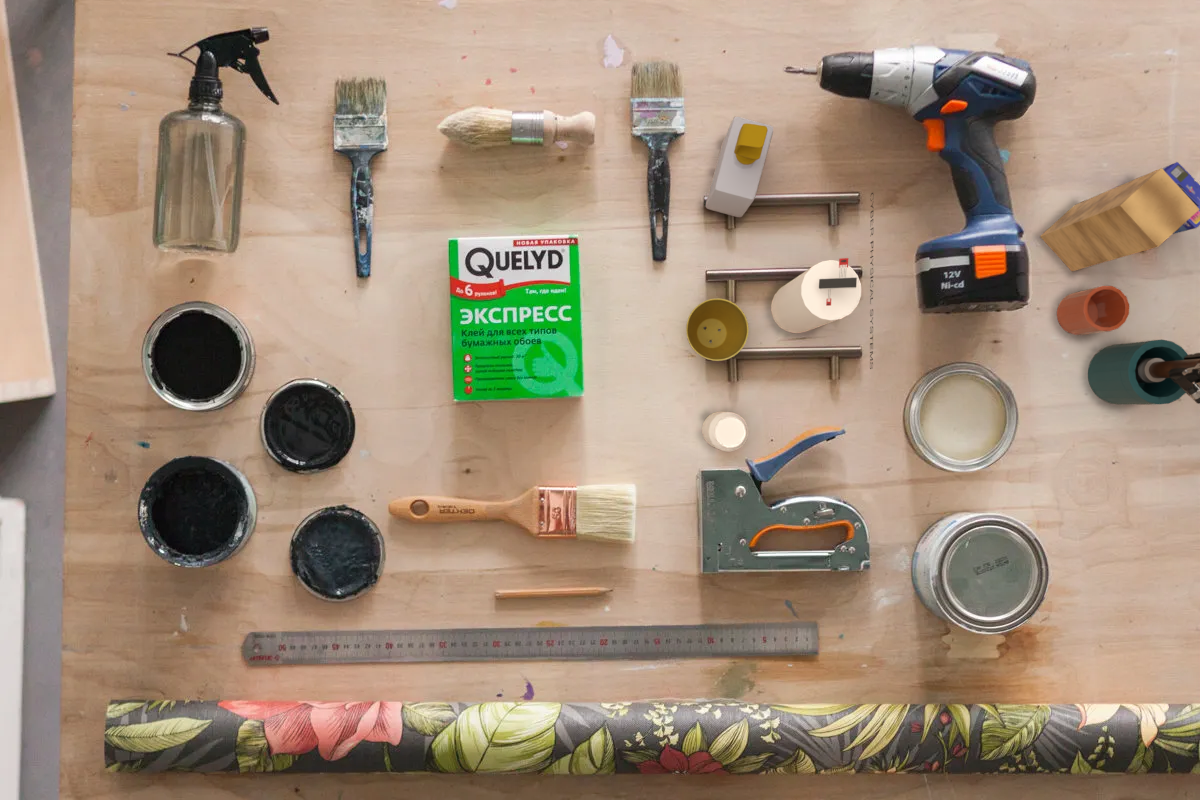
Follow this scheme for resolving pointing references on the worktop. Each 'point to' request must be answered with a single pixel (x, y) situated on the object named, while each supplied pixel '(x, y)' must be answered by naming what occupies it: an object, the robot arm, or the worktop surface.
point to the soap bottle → (739, 167)
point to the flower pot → (714, 318)
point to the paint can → (818, 296)
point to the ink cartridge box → (1186, 192)
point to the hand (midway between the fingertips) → (1181, 368)
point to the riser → (1120, 221)
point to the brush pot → (1093, 310)
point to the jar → (1133, 373)
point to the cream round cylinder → (725, 431)
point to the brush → (1159, 368)
